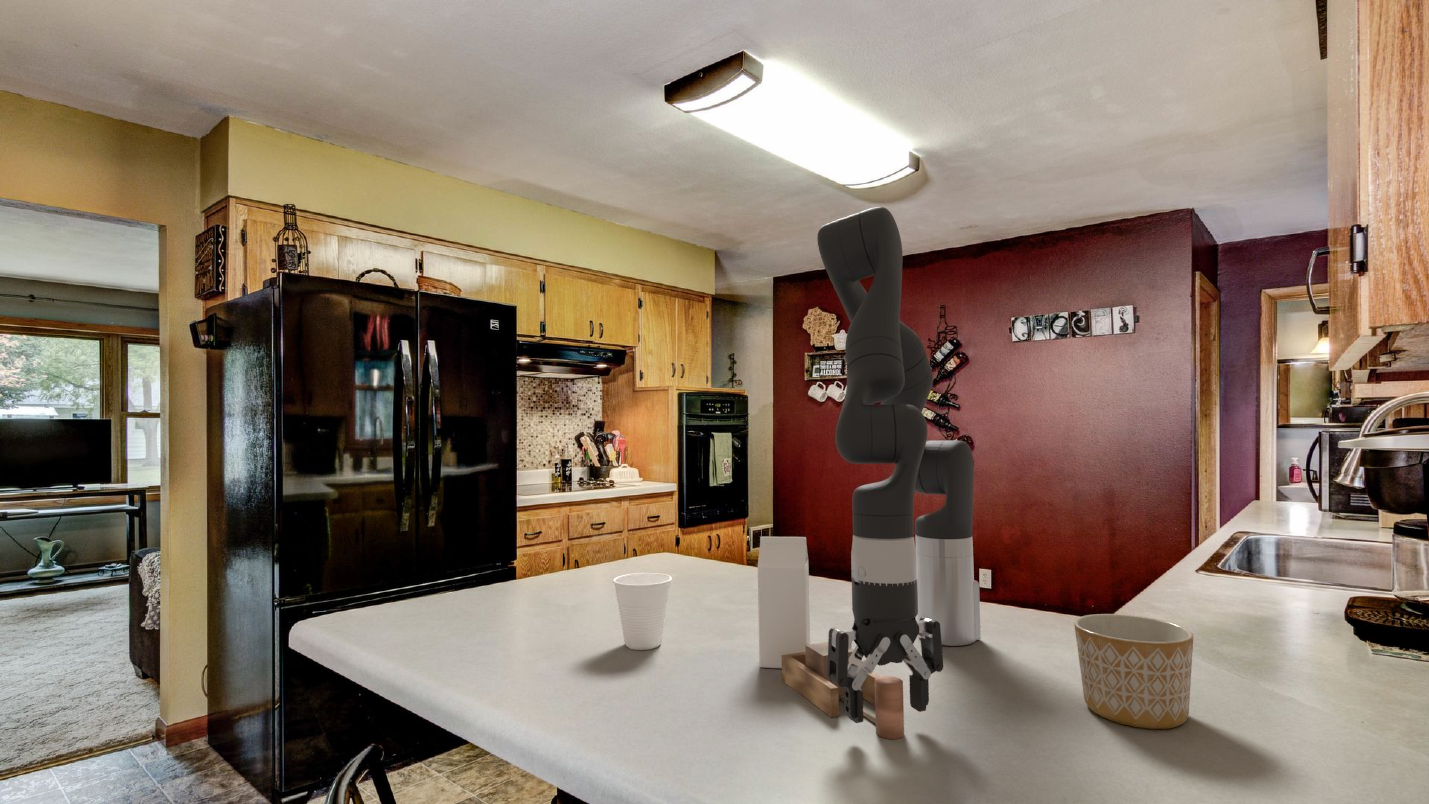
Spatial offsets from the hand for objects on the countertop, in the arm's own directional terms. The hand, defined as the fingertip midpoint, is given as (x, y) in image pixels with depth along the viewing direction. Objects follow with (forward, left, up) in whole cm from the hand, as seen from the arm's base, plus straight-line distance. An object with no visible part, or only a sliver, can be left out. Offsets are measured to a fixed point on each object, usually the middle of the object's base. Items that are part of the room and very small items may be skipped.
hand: (887, 714), depth 81 cm
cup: (+18, -45, -2) cm, 48 cm away
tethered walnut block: (0, -7, -2) cm, 8 cm away
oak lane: (0, -14, -2) cm, 14 cm away
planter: (-31, +6, -2) cm, 32 cm away
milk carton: (0, -28, -2) cm, 28 cm away
